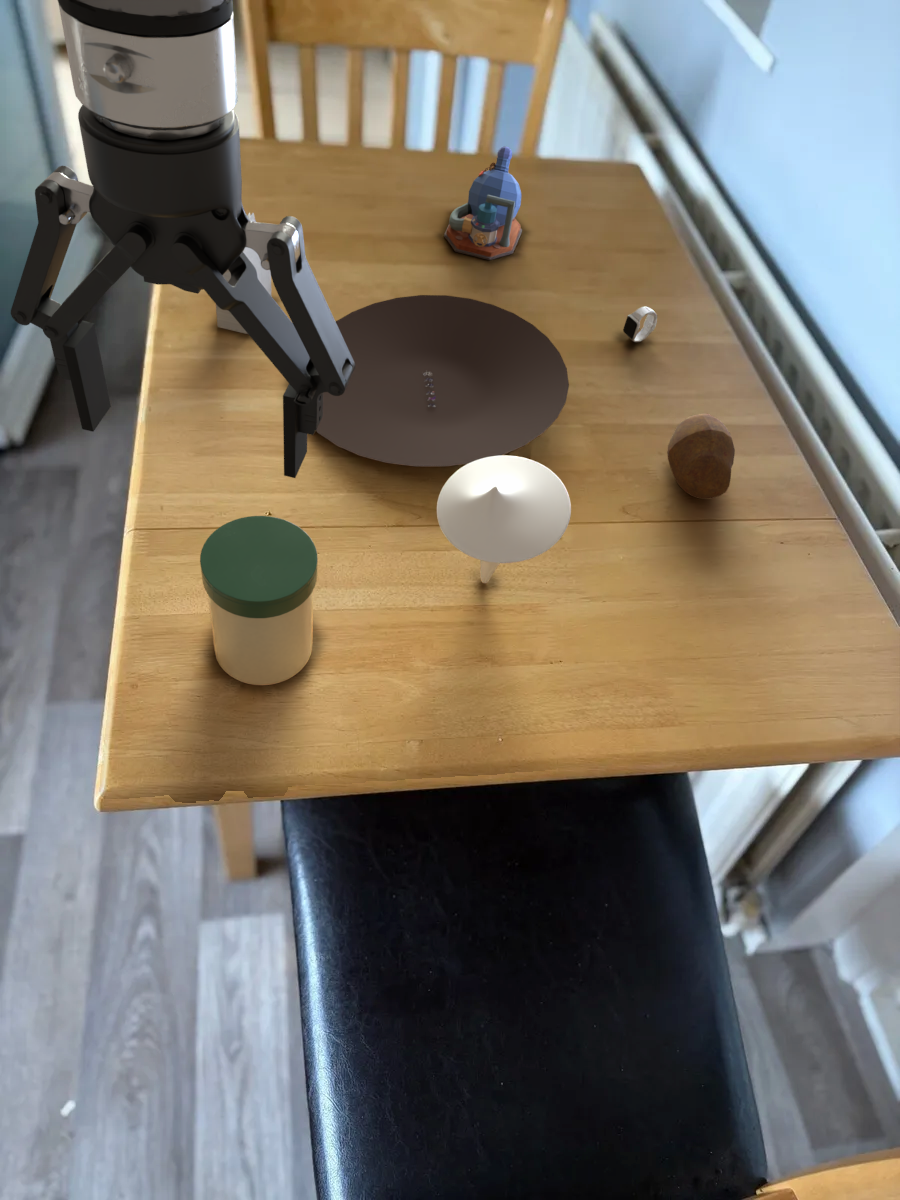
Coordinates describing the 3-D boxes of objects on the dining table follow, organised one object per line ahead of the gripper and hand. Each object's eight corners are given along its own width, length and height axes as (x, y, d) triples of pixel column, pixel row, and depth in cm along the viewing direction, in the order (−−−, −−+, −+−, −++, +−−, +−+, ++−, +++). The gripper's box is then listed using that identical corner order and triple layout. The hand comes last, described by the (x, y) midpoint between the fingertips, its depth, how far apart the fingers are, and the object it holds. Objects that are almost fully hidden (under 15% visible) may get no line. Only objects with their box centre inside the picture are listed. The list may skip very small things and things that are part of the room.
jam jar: (199, 672, 69) (187, 588, 62) (233, 599, 74) (226, 512, 66) (296, 695, 69) (295, 614, 61) (323, 620, 74) (326, 536, 66)
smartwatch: (643, 330, 107) (652, 300, 104) (654, 340, 106) (664, 311, 103) (619, 337, 106) (628, 307, 102) (630, 347, 105) (640, 318, 101)
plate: (294, 306, 101) (294, 276, 98) (538, 320, 106) (544, 292, 103) (292, 481, 84) (292, 451, 81) (583, 488, 88) (593, 460, 85)
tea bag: (271, 301, 101) (269, 216, 93) (250, 334, 97) (246, 248, 89) (239, 293, 101) (235, 208, 94) (217, 326, 97) (210, 239, 89)
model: (459, 203, 120) (469, 132, 113) (526, 220, 120) (540, 150, 113) (437, 247, 113) (446, 173, 106) (508, 265, 112) (523, 192, 105)
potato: (667, 508, 88) (688, 460, 83) (651, 441, 94) (670, 393, 89) (732, 513, 89) (757, 466, 84) (712, 447, 95) (734, 399, 90)
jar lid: (183, 603, 63) (181, 585, 61) (224, 522, 68) (222, 504, 66) (298, 630, 62) (298, 613, 61) (330, 547, 68) (330, 529, 66)
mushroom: (473, 648, 74) (498, 550, 65) (401, 561, 79) (415, 458, 70) (568, 600, 79) (604, 502, 70) (495, 521, 84) (520, 420, 75)
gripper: (-137, 78, 41) (-15, 434, 58) (392, 197, 41) (365, 521, 57) (-49, 23, 46) (41, 366, 63) (426, 129, 46) (392, 446, 62)
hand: (196, 441), depth 60 cm, fingers open, 13 cm apart
